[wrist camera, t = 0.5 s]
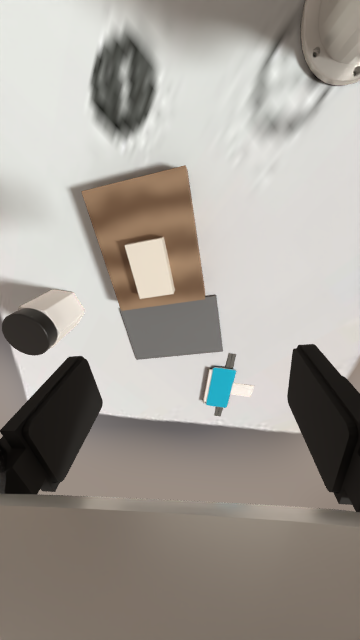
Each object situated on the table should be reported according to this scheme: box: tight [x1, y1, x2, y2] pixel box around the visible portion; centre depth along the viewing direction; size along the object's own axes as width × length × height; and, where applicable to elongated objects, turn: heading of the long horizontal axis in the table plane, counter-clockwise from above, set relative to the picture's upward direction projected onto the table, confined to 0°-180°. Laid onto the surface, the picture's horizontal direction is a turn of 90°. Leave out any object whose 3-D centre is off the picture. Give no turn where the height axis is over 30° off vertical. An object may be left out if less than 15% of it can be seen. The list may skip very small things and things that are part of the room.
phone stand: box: [203, 354, 254, 416], centre depth 52 cm, size 20×12×2 cm, turn 175°
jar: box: [2, 289, 85, 355], centre depth 42 cm, size 9×8×12 cm
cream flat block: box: [125, 237, 175, 299], centre depth 36 cm, size 9×6×2 cm, turn 11°
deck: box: [81, 166, 205, 311], centre depth 37 cm, size 20×16×4 cm
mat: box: [120, 295, 223, 360], centre depth 46 cm, size 13×20×1 cm, turn 101°
